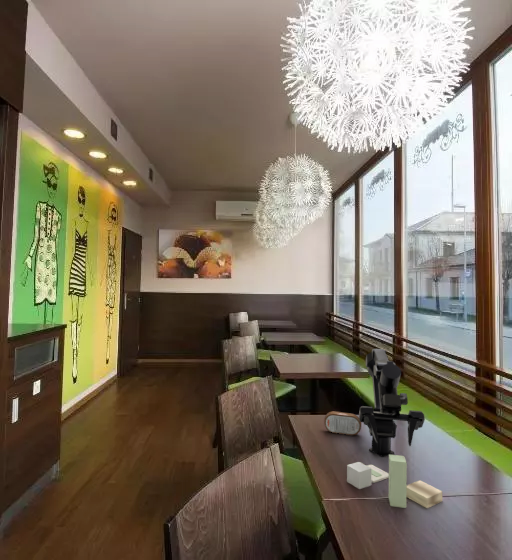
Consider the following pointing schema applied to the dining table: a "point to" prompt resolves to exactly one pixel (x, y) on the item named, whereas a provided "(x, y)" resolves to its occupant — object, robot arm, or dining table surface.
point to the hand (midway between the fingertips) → (393, 443)
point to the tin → (342, 423)
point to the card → (377, 474)
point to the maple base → (423, 494)
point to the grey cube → (359, 475)
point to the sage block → (397, 481)
